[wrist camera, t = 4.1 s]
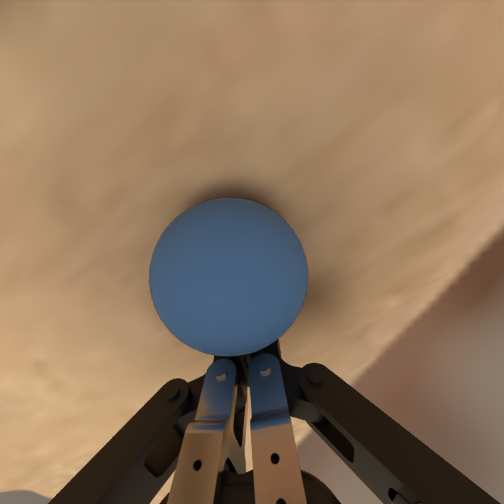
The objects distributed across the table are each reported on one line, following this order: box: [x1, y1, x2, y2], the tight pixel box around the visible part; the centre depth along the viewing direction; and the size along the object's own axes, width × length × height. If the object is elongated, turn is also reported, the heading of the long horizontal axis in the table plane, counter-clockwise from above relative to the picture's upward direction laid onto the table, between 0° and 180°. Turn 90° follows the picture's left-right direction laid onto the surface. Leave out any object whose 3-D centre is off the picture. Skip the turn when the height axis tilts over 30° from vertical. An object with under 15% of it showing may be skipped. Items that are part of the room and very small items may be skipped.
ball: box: [149, 198, 308, 356], centre depth 10 cm, size 6×6×6 cm
